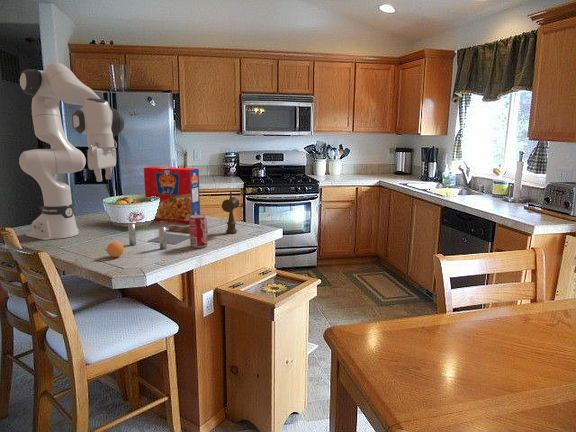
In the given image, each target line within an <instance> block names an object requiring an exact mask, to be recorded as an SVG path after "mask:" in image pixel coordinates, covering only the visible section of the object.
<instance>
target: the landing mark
mask: <svg viewBox="0 0 576 432" xmlns="http://www.w3.org/2000/svg"><path fill="white" fill-rule="evenodd" d="M186 240H190V235H187V234H186V235H183V234H176V233H175V234H174V233H166V245H169V244H170V245H177V244H179V243H182V242H184V241H186ZM149 242H151V243H159V244H160V238H159V236H157V237H154V238H151V239H148V243H149Z"/></svg>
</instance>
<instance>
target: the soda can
mask: <svg viewBox="0 0 576 432" xmlns="http://www.w3.org/2000/svg"><path fill="white" fill-rule="evenodd" d="M188 226H190V233H189V236H190V238H189V242H190V244H189V245H190V246H191V247H192V248H194V249H204V248H205V247H207V246H208V244H209V241H208V240H209V237H208V233H207V231H208V220H207V218H206V215H205V214H200V215H192V216H190V220H189V224H188Z"/></svg>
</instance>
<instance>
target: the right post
mask: <svg viewBox="0 0 576 432" xmlns="http://www.w3.org/2000/svg"><path fill="white" fill-rule="evenodd" d="M166 227H167V226H165V225H164V226H158V232H159V234H158V235H159V236H158V237H159V238H160V243H159V249H160V250H166V249H167V245H168V244H167V243H166V234H167V233H166V232H167V230H166V229H167V228H166Z"/></svg>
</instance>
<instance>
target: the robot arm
mask: <svg viewBox="0 0 576 432" xmlns="http://www.w3.org/2000/svg"><path fill="white" fill-rule="evenodd" d="M19 85H20V88H21V90H22V91H23V93H24V94H26V95H29V96H32V99H31V116H32V117H31V118H32V124H33V129H34V134H35V136H36V138H38V140H40V141H41V142H44V143H46V144H49V145H50V146H51V147H52V148H37V149H36V148H33V149H29V150H24V151H23V152H21V154H20V155H19V160H18V161H19V162H18V164H19V166H20V169H21V170H22V171H23V172H24V173H25V174H27V175H29V176H31V177H32V178H33V179H34V180H35V181H36V183H37V184H38V185H39V187H40V189H41V193H42V198H43V199H42V200H43V206H39V209H40V210H41V213H40V215H39V216H38V217H37V218H35V219H33V221H32V222H31V231H28V232H27V233H25V234H26V235H25V236H26V237H30V238H34V239H37V240H38V239H39V240H43V241H47V240H55V239H67V238H71V237H75V236H77V235H79V231H80V230H79V228H78V225H77V222H76V217H75V214H74V209H75V207H74V204H73V201H72V200H73V199H72V192H71V191H72V190H71V187H70V186H69V185H68V184H67V183H65V182H63V181H60V180H57V179H56V178H55V177H54V175H57V174H59V175H61V174H73V173H77V172H81V171H83V170H84V168H85V166H86V164H87V167H88V169H89V170H90V171H93V173H94V175H95V179H96V182H98V183H99V182H103V180H104V179H106V180H111V179H112V173H113V172H112V171H113V168H114V167H116V165H117V149H116V148H118V147H117V146H118V144H117V141H116V140H115V139H114V136H115V137H116V136H118V135H119V134H121V133H122V131H123V129H124V128H125V119H124V117H123V115H122V114H121V112H120V111H119V110H117V109H115V108H113V106H111V105H110V103H109V101H107V100H106V99H104V98H103V97H102V96H101V95H100V94H99V93H98V92H97V91H96V90H94V89H92V88H91V87H89V86H87V84H84V83H83V82H82V81H81V80H80V79H78V77H77V76H76V74H75V73H73V71H72V70H71V69H70V68H68V66H66V65H65V64H63V63H61V62H51V63H50V64H48V65H47V66H46V68H45V70H39V69H25V70H23V71H22V72H21V73H20V78H19ZM60 102H62V103H63V104H68V105H75V106H76V105H77V106H82V107H81V108H80V109H77V110H75V111H74V112H73V114H72V116H71V122H72V127H73V129H74V130H75V131H76V132H77V133H78V134H81V135H85V136H86V137H87V138H86V139H87V147H88V149H87V158H86V156H85V154H84V153H83V152H82V150H80V149H78V148H76V147H75V146H74V145H73V144H72V143H71V142H70V141H69V140H68V138H67V137H66V134H65V131H64V127H63V124H62V123H63V122H62V117H61V116H62V115H61V112H60V106H59V105H60ZM86 162H87V163H86ZM102 169H104V170H105V175H104V177H105V178H104V177H103V175H102ZM103 178H104V179H103Z"/></svg>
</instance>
